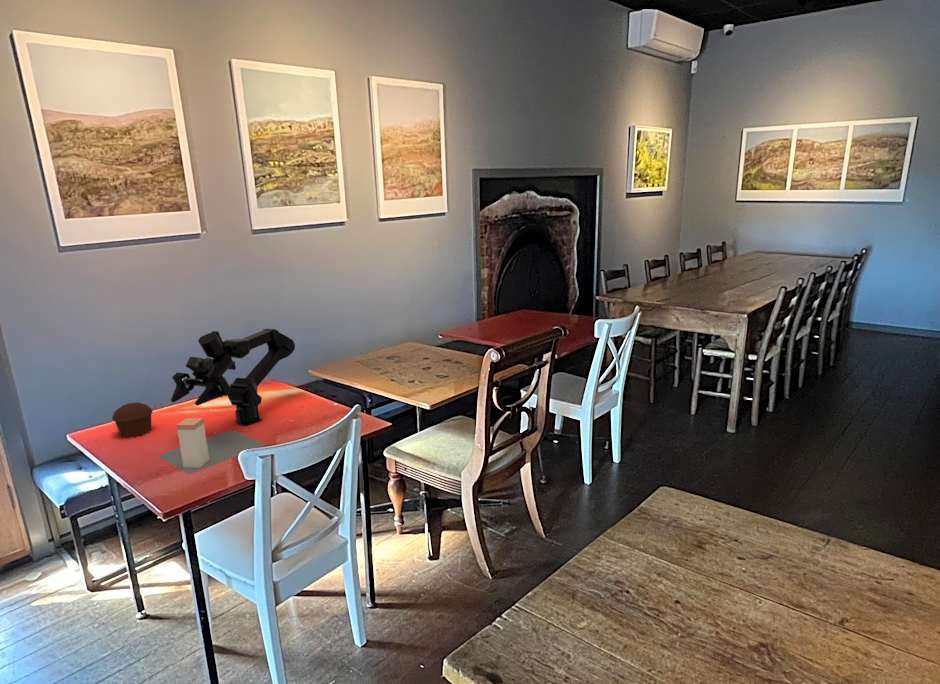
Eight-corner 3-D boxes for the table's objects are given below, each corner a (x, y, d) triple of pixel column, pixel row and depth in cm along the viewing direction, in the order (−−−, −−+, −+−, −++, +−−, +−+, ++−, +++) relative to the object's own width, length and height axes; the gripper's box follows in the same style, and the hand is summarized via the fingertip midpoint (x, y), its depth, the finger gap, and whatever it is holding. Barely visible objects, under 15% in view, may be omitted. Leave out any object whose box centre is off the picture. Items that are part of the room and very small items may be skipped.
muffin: (149, 423, 201) (144, 396, 198) (160, 431, 193) (156, 403, 191) (110, 434, 192) (105, 405, 190) (121, 443, 185) (115, 413, 182)
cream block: (193, 459, 171) (186, 418, 168) (209, 459, 170) (203, 418, 167) (183, 467, 166) (176, 424, 163) (200, 467, 165) (193, 425, 162)
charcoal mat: (232, 431, 192) (232, 430, 192) (266, 446, 180) (266, 444, 180) (157, 456, 174) (157, 455, 174) (189, 475, 162) (189, 474, 162)
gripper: (181, 347, 183) (146, 380, 171) (228, 351, 176) (196, 386, 165) (197, 373, 189) (164, 407, 178) (243, 378, 183) (213, 413, 172)
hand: (183, 402), depth 173 cm, fingers open, 9 cm apart
